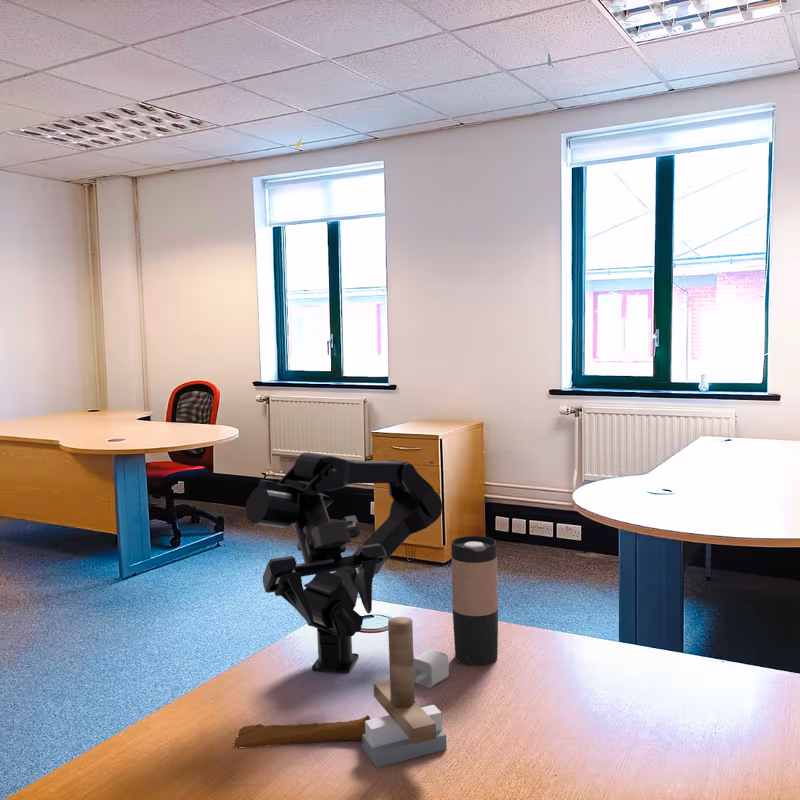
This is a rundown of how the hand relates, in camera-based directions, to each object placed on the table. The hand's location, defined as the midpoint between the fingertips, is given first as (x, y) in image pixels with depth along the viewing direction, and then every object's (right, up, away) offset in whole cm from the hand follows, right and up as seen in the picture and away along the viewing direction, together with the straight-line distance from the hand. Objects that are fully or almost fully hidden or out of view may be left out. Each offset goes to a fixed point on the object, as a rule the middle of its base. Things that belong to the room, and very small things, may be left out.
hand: (341, 617), depth 114 cm
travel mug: (+22, -12, +17) cm, 30 cm away
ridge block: (+9, -14, -11) cm, 20 cm away
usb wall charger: (+13, -13, +8) cm, 20 cm away
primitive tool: (-5, -15, -8) cm, 18 cm away
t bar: (+9, -10, -11) cm, 18 cm away
